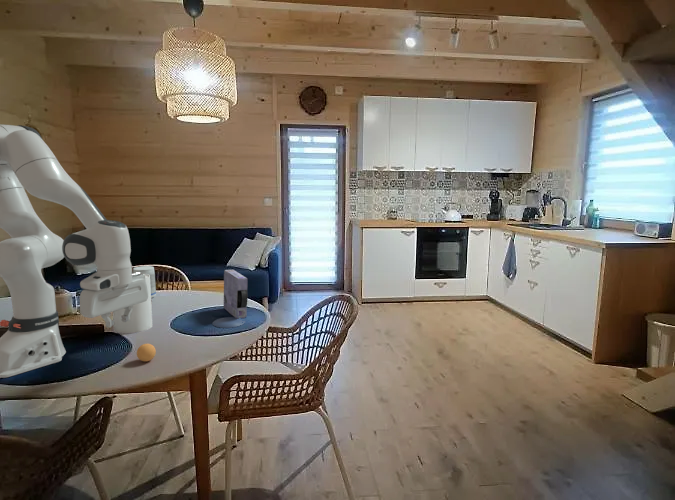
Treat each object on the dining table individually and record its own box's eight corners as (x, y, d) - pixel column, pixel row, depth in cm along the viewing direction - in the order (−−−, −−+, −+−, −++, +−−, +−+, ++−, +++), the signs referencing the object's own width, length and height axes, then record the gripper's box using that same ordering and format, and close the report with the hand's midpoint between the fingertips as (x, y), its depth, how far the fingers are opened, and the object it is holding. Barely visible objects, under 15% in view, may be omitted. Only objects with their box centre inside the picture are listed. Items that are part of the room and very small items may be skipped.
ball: (146, 365, 131) (145, 348, 130) (133, 362, 133) (132, 345, 132) (160, 359, 136) (159, 342, 135) (147, 356, 138) (146, 339, 137)
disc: (232, 329, 164) (232, 329, 164) (205, 325, 169) (205, 324, 169) (251, 320, 176) (251, 319, 176) (225, 316, 181) (225, 315, 181)
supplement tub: (150, 293, 214) (149, 264, 212) (159, 297, 208) (158, 267, 206) (130, 297, 207) (129, 267, 204) (139, 301, 201) (137, 270, 198)
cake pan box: (248, 318, 178) (248, 277, 176) (237, 320, 176) (236, 278, 173) (233, 306, 194) (233, 268, 192) (223, 308, 192) (222, 269, 189)
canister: (108, 327, 165) (105, 276, 162) (144, 319, 174) (141, 271, 171) (121, 336, 155) (117, 282, 152) (158, 327, 165) (155, 277, 162)
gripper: (136, 269, 132) (139, 312, 134) (74, 283, 114) (78, 333, 116) (152, 271, 130) (154, 315, 132) (90, 286, 111) (94, 336, 113)
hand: (118, 323), depth 124 cm, fingers open, 4 cm apart
